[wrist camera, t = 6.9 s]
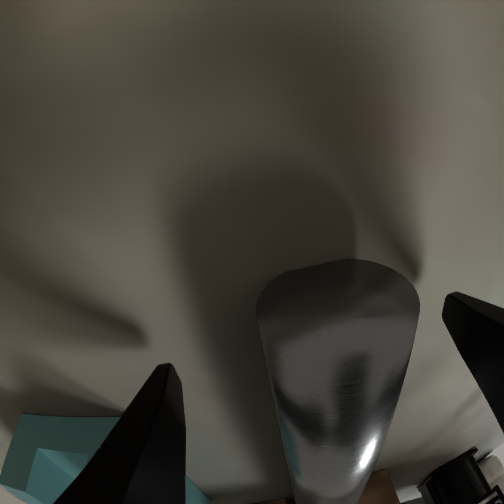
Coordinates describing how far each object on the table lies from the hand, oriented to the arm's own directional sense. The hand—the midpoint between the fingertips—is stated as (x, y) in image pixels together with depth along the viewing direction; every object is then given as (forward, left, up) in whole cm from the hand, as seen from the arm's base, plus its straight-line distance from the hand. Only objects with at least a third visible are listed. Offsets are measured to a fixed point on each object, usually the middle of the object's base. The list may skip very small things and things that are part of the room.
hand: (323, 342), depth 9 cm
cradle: (+11, +9, -1) cm, 15 cm away
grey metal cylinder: (0, +7, +1) cm, 7 cm away
